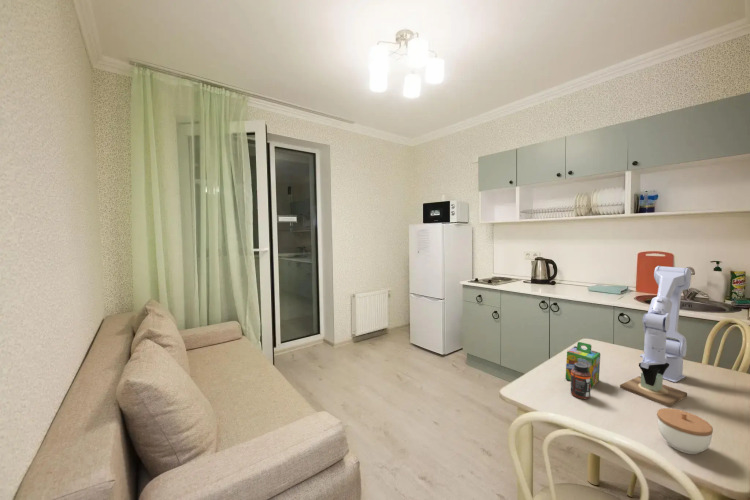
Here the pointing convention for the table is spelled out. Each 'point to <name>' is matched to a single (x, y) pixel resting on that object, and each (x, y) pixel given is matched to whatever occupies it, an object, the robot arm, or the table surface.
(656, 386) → the block
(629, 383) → the rest board
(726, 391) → the table surface
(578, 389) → the supplement bottle
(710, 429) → the lidded jar
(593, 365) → the chalk box
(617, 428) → the table surface
